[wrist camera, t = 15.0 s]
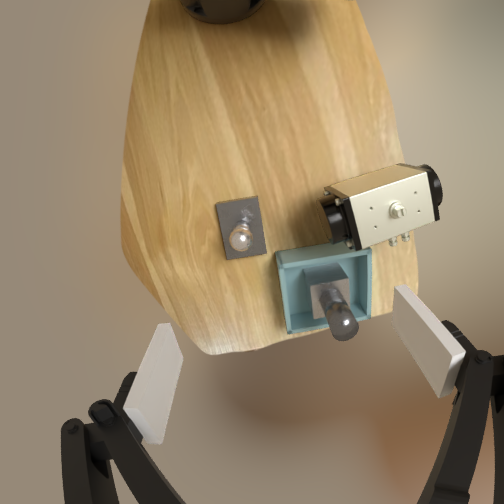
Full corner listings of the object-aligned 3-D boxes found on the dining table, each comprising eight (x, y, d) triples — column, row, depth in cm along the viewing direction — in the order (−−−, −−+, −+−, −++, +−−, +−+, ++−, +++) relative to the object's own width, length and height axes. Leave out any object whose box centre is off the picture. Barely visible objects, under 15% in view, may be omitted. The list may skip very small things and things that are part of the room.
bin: (275, 251, 54) (278, 264, 49) (359, 238, 53) (371, 249, 48) (284, 316, 59) (287, 334, 53) (360, 302, 58) (370, 318, 53)
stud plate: (216, 202, 51) (210, 214, 43) (257, 195, 51) (259, 206, 42) (227, 256, 54) (224, 277, 46) (266, 250, 54) (269, 270, 46)
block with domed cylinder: (306, 299, 57) (324, 351, 42) (303, 268, 54) (321, 315, 39) (339, 292, 56) (366, 342, 41) (337, 261, 54) (367, 305, 39)
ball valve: (317, 230, 53) (346, 271, 36) (302, 185, 50) (329, 208, 33) (403, 200, 51) (458, 227, 34) (393, 156, 48) (450, 167, 31)
